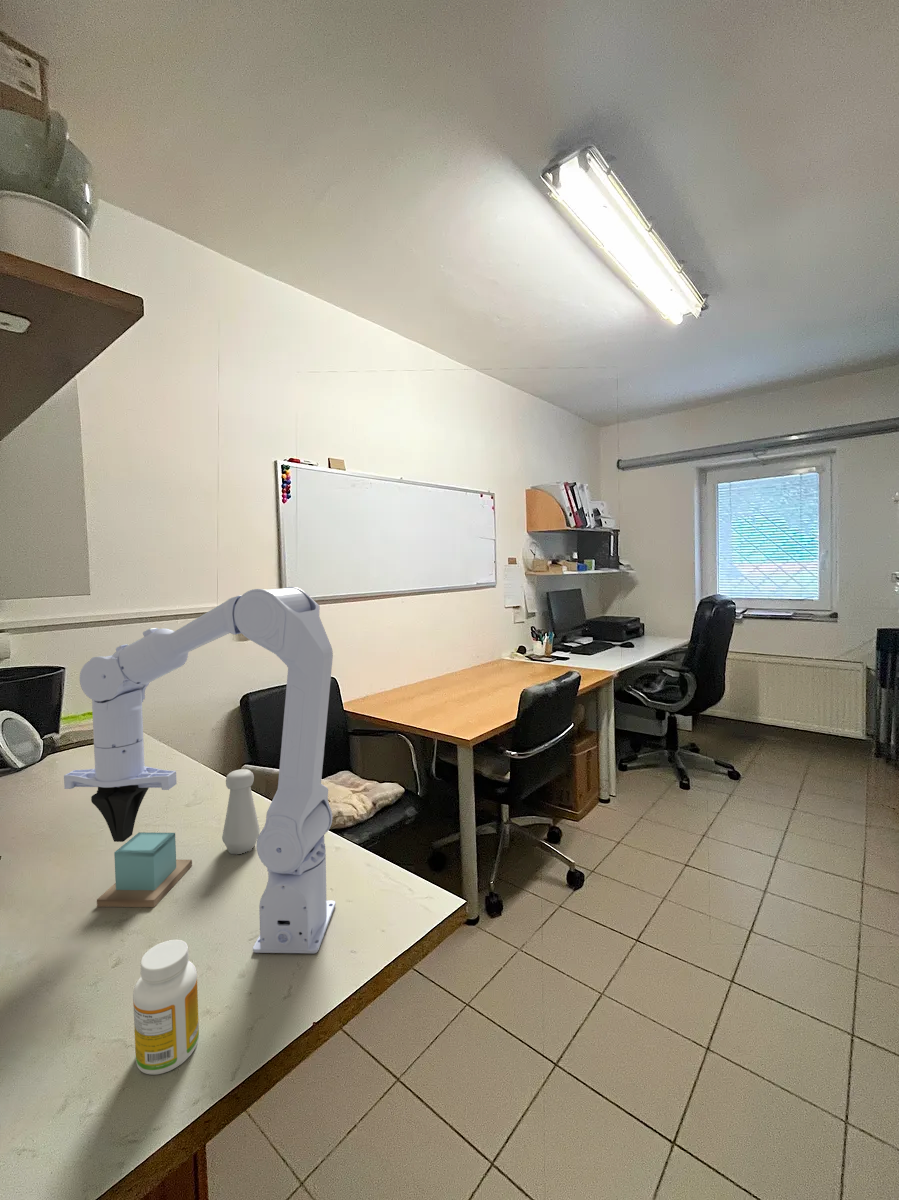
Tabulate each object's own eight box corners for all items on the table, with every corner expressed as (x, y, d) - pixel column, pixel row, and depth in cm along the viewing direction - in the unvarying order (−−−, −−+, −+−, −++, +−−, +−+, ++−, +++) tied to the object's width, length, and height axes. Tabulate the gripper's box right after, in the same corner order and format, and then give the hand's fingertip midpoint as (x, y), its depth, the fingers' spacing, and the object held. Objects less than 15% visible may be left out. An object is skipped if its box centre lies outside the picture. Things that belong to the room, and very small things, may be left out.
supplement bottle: (182, 1016, 54) (179, 926, 53) (209, 1044, 51) (207, 949, 50) (125, 1055, 49) (121, 958, 49) (151, 1089, 46) (147, 985, 46)
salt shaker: (246, 859, 83) (244, 780, 82) (214, 855, 84) (212, 777, 83) (266, 841, 89) (264, 766, 88) (236, 837, 90) (234, 764, 89)
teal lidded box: (154, 890, 73) (153, 852, 73) (115, 889, 73) (114, 852, 73) (176, 867, 79) (175, 832, 79) (140, 867, 79) (138, 832, 79)
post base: (154, 907, 71) (152, 868, 71) (97, 906, 71) (95, 867, 71) (191, 865, 81) (190, 831, 81) (141, 865, 81) (140, 831, 81)
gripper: (187, 732, 74) (190, 824, 75) (88, 732, 75) (92, 823, 76) (157, 749, 67) (161, 850, 68) (49, 748, 68) (54, 849, 69)
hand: (123, 838), depth 71 cm, fingers closed
